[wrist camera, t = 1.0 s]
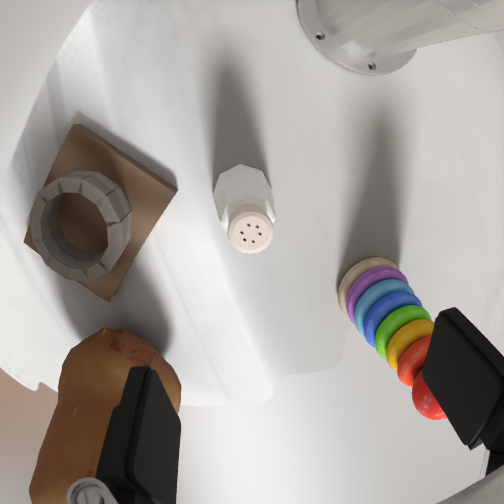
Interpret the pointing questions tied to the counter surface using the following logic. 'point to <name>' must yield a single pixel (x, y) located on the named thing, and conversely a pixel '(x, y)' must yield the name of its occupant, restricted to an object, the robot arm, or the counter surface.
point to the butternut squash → (91, 408)
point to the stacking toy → (391, 323)
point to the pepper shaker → (245, 208)
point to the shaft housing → (95, 212)
